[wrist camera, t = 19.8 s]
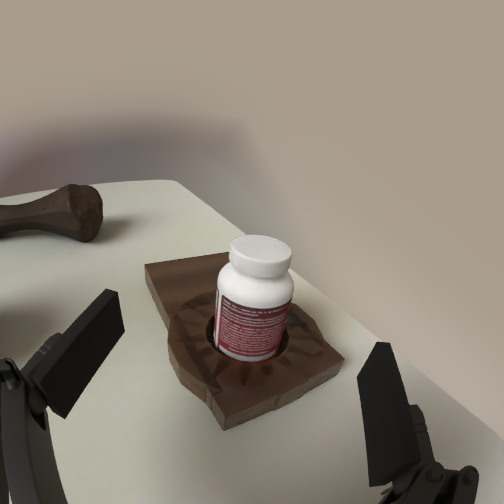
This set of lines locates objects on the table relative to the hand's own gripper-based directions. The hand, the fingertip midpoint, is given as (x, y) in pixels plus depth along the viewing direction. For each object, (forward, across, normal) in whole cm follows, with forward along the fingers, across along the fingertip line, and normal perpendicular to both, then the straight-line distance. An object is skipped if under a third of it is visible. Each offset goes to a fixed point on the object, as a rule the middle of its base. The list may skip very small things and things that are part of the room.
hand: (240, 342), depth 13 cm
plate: (+12, -3, -10) cm, 16 cm away
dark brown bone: (+20, -41, -10) cm, 47 cm away
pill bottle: (+9, 0, -10) cm, 14 cm away
